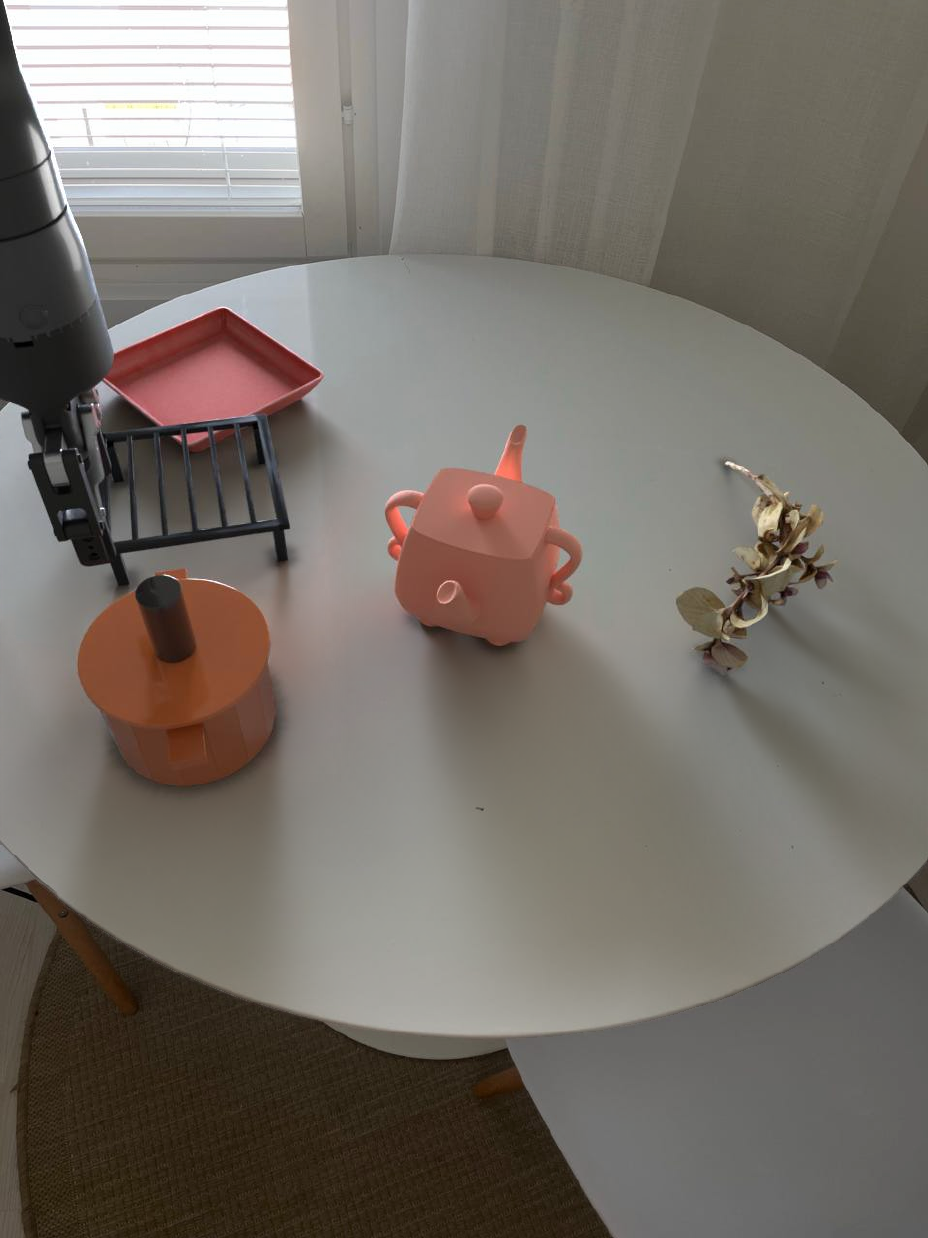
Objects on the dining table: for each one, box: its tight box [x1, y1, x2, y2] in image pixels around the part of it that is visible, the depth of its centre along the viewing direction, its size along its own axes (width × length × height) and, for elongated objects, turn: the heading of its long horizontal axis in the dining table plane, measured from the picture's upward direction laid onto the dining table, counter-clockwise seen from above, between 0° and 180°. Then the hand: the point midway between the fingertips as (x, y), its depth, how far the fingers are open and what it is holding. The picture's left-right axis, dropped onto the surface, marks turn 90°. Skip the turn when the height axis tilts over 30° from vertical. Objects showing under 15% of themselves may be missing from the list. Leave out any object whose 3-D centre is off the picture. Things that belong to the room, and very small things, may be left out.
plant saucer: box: [101, 306, 325, 453], centre depth 97 cm, size 18×18×3 cm
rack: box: [98, 414, 291, 587], centre depth 84 cm, size 16×16×5 cm
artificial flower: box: [675, 460, 839, 677], centre depth 83 cm, size 10×14×30 cm
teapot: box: [384, 424, 583, 647], centre depth 77 cm, size 15×17×13 cm
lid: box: [76, 575, 272, 729], centre depth 63 cm, size 13×13×7 cm
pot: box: [99, 567, 277, 787], centre depth 69 cm, size 12×18×8 cm
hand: (98, 516), depth 60 cm, fingers open, 8 cm apart
